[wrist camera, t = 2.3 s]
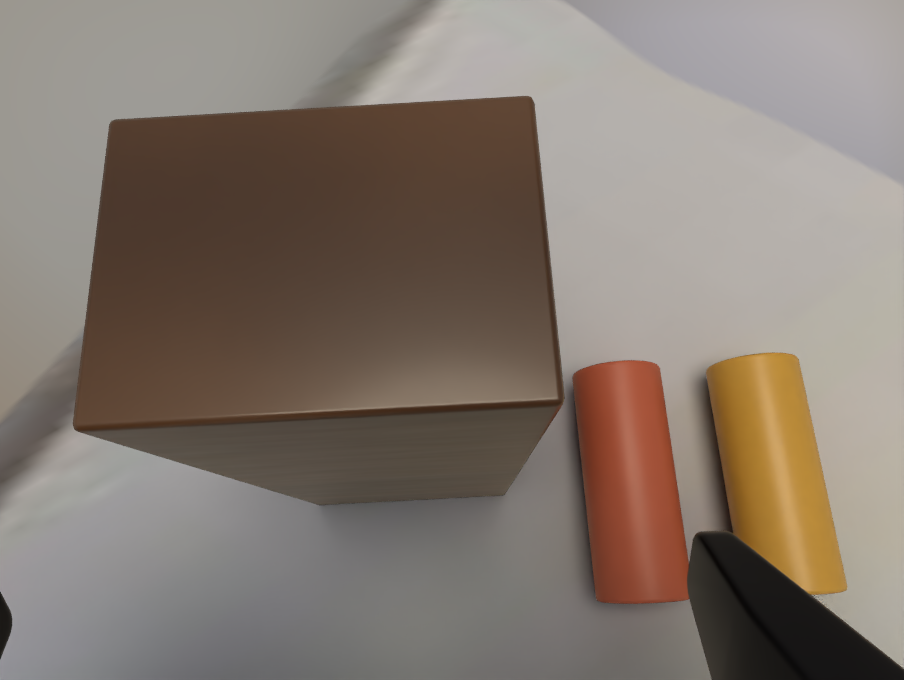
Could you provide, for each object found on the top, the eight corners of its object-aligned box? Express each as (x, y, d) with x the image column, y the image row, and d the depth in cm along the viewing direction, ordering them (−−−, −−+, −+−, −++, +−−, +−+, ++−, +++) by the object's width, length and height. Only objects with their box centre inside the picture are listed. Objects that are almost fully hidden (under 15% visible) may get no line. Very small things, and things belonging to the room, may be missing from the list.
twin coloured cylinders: (817, 586, 18) (868, 592, 16) (589, 598, 18) (605, 605, 16) (774, 372, 20) (814, 349, 18) (566, 383, 20) (579, 362, 18)
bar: (505, 495, 19) (566, 405, 7) (316, 505, 19) (68, 431, 7) (495, 359, 20) (533, 92, 8) (318, 370, 20) (107, 116, 8)
